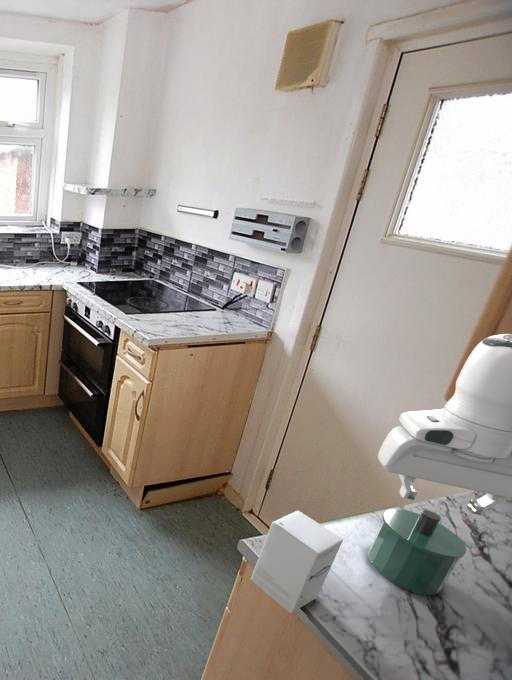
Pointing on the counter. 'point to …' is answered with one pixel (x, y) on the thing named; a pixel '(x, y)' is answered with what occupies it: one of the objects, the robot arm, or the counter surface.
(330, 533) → the white packaging box
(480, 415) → the robot arm
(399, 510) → the lid
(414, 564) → the tin
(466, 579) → the counter surface
